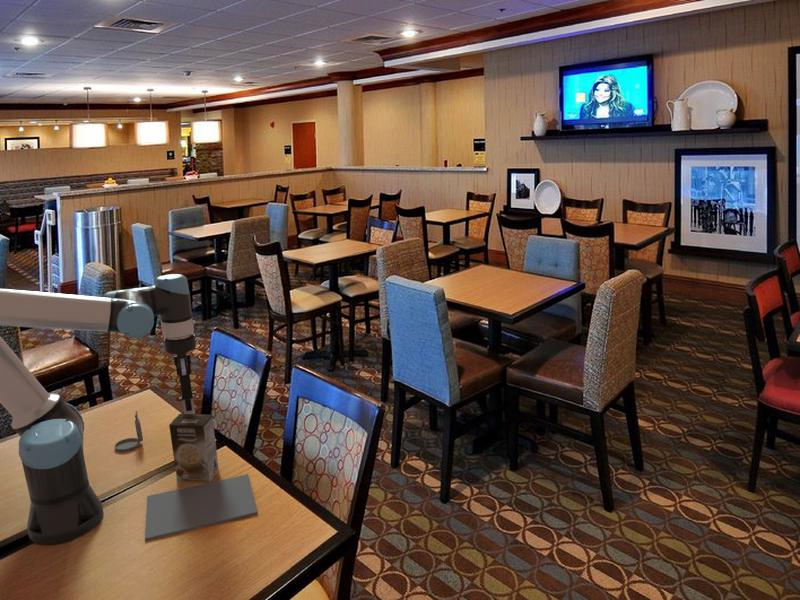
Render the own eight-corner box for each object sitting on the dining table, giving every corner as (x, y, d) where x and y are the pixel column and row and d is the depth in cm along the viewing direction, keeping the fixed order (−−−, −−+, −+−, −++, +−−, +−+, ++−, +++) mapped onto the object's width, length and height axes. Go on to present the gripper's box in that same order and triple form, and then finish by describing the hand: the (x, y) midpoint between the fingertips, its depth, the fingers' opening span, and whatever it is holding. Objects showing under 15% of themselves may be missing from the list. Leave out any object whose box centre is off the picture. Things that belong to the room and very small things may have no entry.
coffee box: (175, 482, 152) (166, 424, 148) (186, 469, 158) (178, 413, 154) (210, 483, 151) (202, 425, 147) (220, 469, 157) (213, 413, 153)
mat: (145, 541, 130) (144, 538, 130) (147, 498, 146) (147, 495, 145) (257, 514, 138) (257, 511, 138) (248, 476, 154) (248, 474, 153)
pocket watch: (110, 449, 170) (104, 417, 167) (134, 436, 177) (129, 405, 175) (129, 455, 166) (123, 422, 164) (154, 442, 173) (149, 410, 171)
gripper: (196, 340, 148) (207, 427, 154) (193, 326, 160) (203, 407, 166) (163, 345, 145) (176, 433, 151) (163, 330, 157) (174, 412, 163)
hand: (190, 420), depth 158 cm, fingers closed
